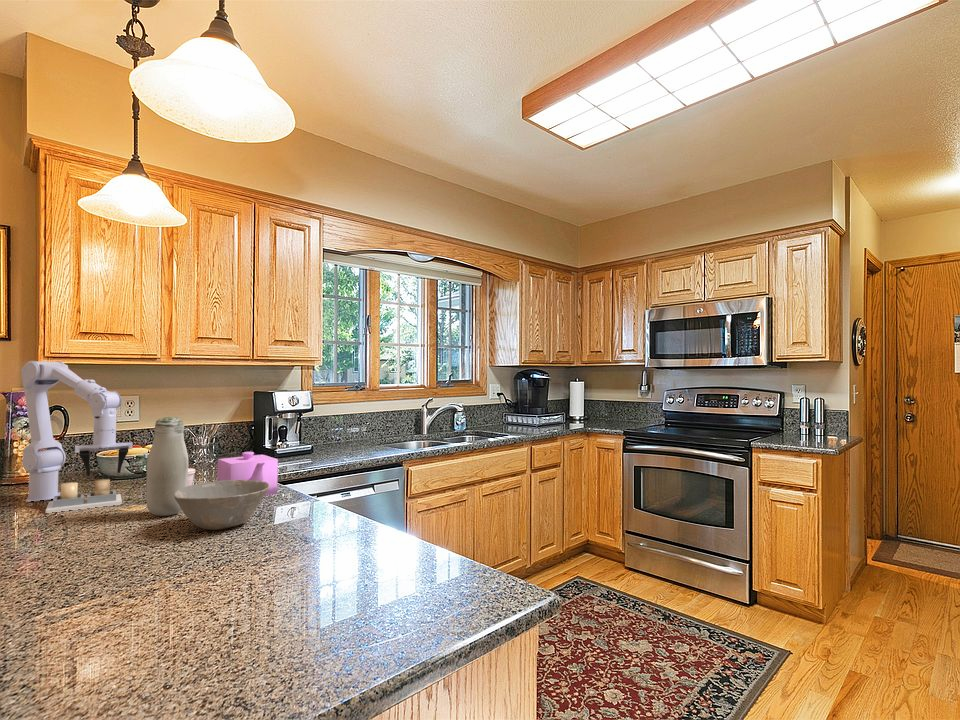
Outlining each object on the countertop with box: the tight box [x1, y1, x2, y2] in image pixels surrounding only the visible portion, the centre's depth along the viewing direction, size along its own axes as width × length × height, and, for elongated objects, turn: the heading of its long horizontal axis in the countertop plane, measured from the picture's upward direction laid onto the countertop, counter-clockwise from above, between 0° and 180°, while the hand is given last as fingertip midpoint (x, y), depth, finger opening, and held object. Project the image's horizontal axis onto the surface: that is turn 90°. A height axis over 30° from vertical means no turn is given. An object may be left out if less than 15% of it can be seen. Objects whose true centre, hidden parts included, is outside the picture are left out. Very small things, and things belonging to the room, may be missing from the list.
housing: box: [45, 481, 123, 514], centre depth 159 cm, size 12×18×7 cm, turn 126°
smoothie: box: [187, 467, 196, 486], centre depth 165 cm, size 6×6×14 cm
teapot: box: [216, 451, 279, 496], centre depth 175 cm, size 15×25×14 cm, turn 44°
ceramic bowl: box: [174, 480, 270, 531], centre depth 139 cm, size 22×23×10 cm
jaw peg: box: [93, 478, 111, 496], centre depth 162 cm, size 4×4×6 cm
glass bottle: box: [145, 416, 189, 517], centre depth 149 cm, size 10×10×28 cm
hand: (103, 473), depth 162 cm, fingers open, 7 cm apart
